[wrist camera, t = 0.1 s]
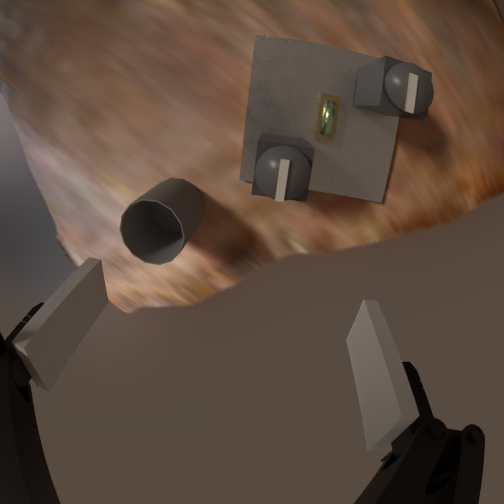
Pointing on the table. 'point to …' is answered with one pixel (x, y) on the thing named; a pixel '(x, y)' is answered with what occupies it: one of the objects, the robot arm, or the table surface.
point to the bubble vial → (327, 117)
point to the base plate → (305, 112)
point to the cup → (162, 221)
